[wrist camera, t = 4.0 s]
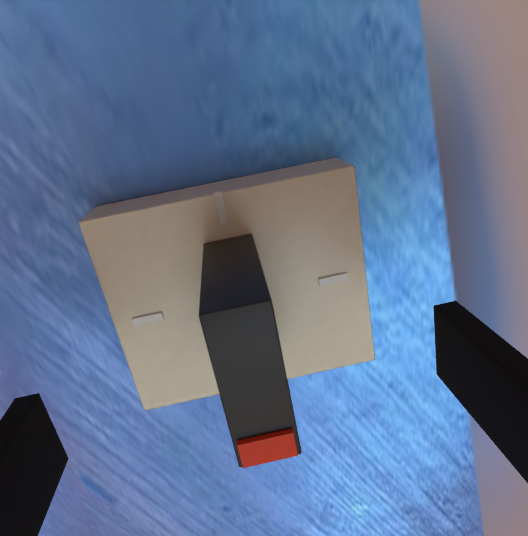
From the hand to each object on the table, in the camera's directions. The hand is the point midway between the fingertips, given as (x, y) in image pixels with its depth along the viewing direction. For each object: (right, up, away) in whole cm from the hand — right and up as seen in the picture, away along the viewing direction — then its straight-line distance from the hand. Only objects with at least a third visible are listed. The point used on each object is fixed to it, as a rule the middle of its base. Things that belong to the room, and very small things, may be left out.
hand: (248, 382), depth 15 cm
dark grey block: (-1, +2, +6) cm, 6 cm away
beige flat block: (-1, +3, +9) cm, 9 cm away
